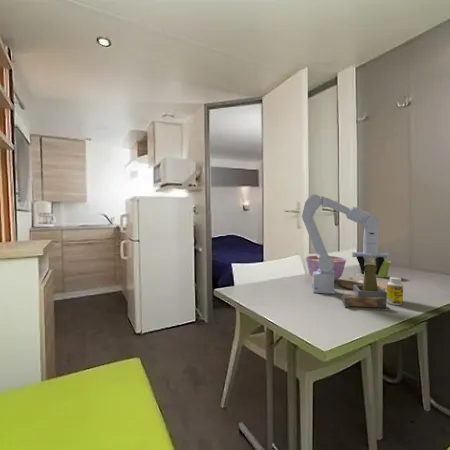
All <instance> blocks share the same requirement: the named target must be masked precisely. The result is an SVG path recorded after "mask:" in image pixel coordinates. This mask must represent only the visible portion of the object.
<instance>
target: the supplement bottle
mask: <svg viewBox="0 0 450 450" xmlns="http://www.w3.org/2000/svg"><path fill="white" fill-rule="evenodd" d="M386 292H387V302H386V303H388V304H389V305H394V306H402V305H403V297H404V284H403V282H402V278H401V277H398V276H390V277H389V281H388V282H387V285H386Z"/></svg>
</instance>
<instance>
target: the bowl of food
mask: <svg viewBox="0 0 450 450" xmlns="http://www.w3.org/2000/svg"><path fill="white" fill-rule="evenodd" d="M329 256H330V257H331V258H332V260H333V264H334V268H333V271H334V281H336V280H338V279H340V278H341V277H342V275H343V273H344V270H345V266H346V262H347V258H345V257H340V256H334V255H329ZM305 262H306V266H307V270H308V273H309V275H310V276H311V277H312V278H313V272H316V271H318V269H319V260H318V257H317V255H309V256H306V257H305Z"/></svg>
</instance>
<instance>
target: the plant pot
mask: <svg viewBox="0 0 450 450" xmlns="http://www.w3.org/2000/svg"><path fill="white" fill-rule="evenodd" d="M371 262H372V265H375V266H376V261H375V259H373V260H371ZM391 264H392V261H391V260H385V259H384V262H383V264H382V265H381V268H380V270H379V274H378V275H376V278H382V279H383V278H388V275H389V270H390V265H391Z"/></svg>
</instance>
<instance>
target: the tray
mask: <svg viewBox="0 0 450 450" xmlns="http://www.w3.org/2000/svg"><path fill="white" fill-rule="evenodd" d="M352 287H353V289H352V291H353V292H354V294H355V295H356V296H359V297H384V298H386V299H387V290H384V288H382V287H381V286H380V285H377V287H378V291H365V290H362V289H363V284H353V286H352Z"/></svg>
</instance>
